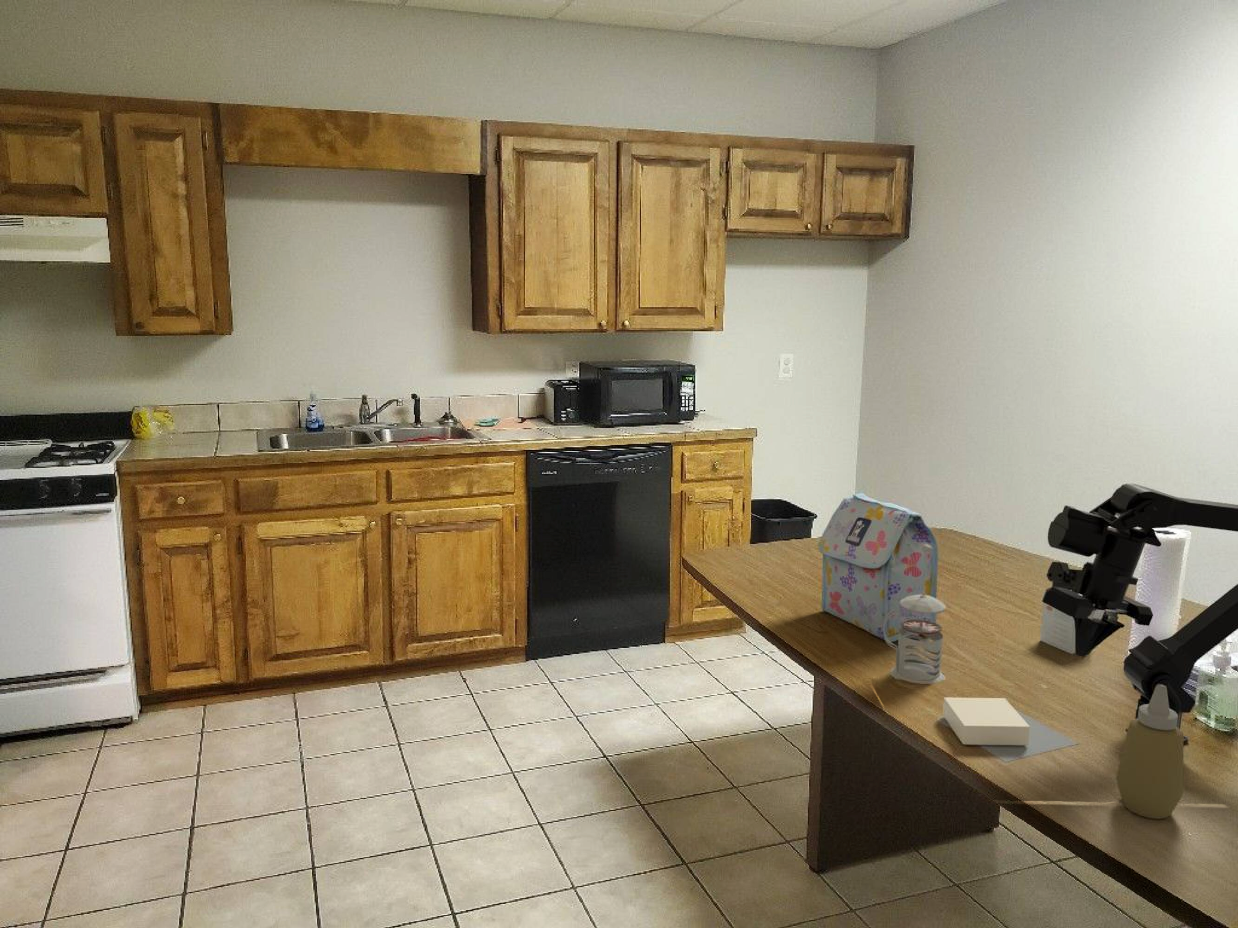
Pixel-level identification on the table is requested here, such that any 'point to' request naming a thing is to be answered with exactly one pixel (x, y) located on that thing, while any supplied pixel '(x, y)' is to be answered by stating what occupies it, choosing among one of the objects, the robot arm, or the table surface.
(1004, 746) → the mat
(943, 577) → the table surface
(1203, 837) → the table surface
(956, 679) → the table surface
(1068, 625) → the small box
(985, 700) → the tile
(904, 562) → the lunch bag
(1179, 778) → the squeeze bottle
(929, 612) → the french press
